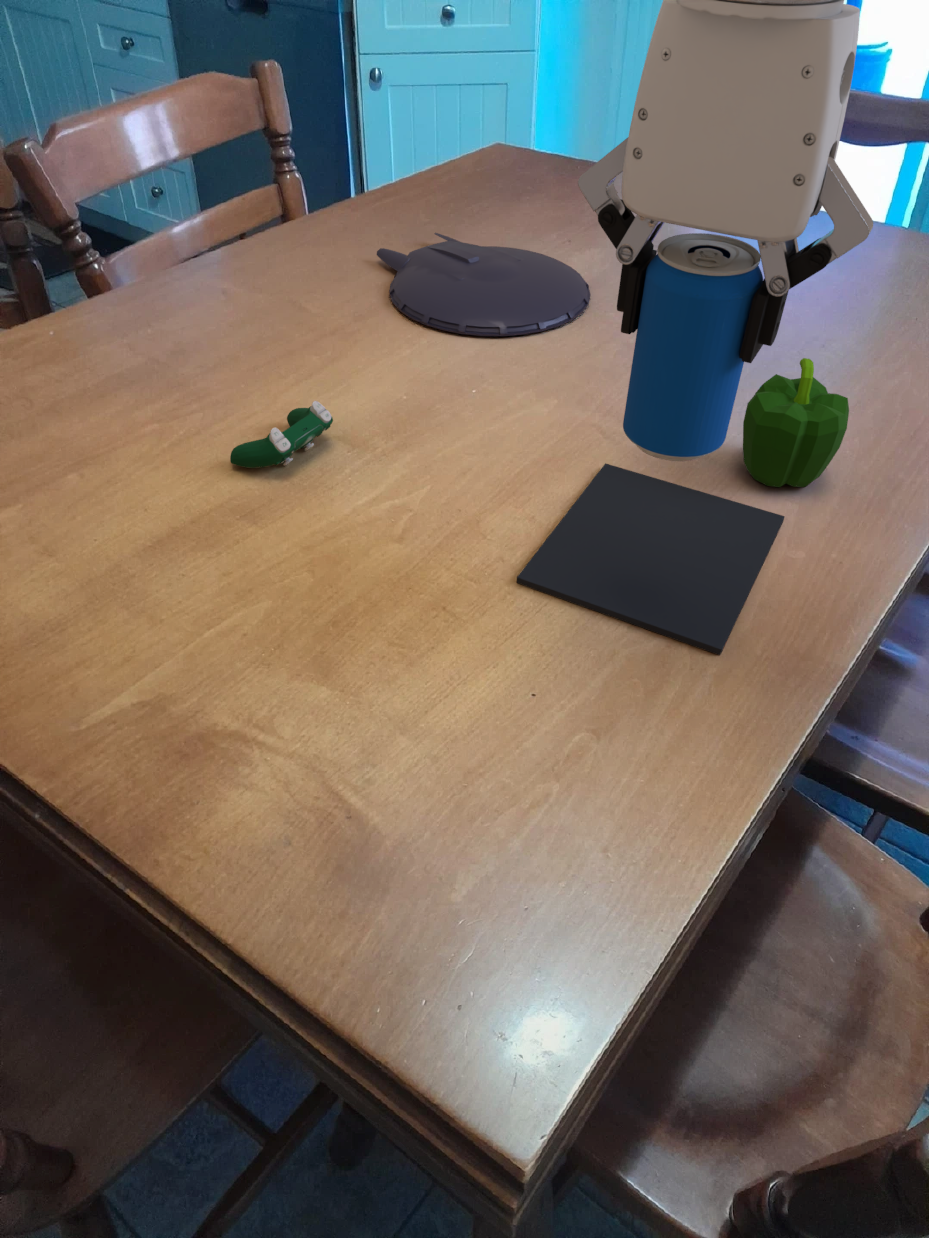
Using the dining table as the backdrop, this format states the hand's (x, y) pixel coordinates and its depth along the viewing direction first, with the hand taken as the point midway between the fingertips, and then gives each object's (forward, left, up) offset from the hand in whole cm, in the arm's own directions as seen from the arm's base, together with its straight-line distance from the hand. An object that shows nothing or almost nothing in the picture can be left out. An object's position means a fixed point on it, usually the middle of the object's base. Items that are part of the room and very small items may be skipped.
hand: (692, 336), depth 53 cm
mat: (+1, -7, -21) cm, 22 cm away
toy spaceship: (+37, -45, -21) cm, 62 cm away
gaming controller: (+35, -4, -21) cm, 41 cm away
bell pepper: (-5, -23, -21) cm, 31 cm away
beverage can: (0, 0, -7) cm, 7 cm away
